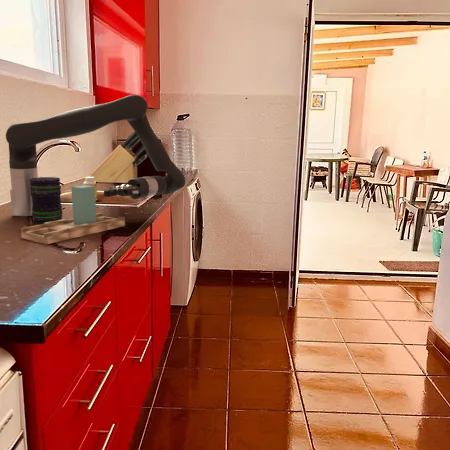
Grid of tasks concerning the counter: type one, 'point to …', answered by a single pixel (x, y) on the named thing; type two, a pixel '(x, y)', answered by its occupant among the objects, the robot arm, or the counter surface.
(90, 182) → the supplement bottle
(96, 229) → the box
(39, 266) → the counter surface
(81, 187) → the teal block
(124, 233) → the counter surface
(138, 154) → the knife block
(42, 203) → the navy cylinder
